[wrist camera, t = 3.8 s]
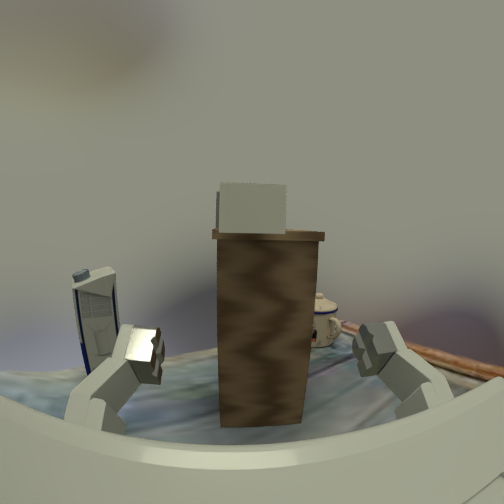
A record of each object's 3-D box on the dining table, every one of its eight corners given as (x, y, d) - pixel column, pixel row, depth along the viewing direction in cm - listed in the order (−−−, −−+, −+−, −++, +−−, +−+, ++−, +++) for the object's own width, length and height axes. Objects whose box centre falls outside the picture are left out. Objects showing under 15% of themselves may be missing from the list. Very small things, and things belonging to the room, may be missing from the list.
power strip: (201, 232, 16) (204, 150, 16) (217, 227, 42) (217, 195, 41) (301, 234, 17) (302, 155, 16) (256, 228, 42) (256, 196, 42)
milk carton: (131, 391, 37) (115, 271, 35) (93, 397, 33) (71, 274, 31) (121, 371, 43) (108, 264, 41) (88, 376, 38) (70, 266, 36)
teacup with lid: (288, 338, 63) (291, 292, 62) (316, 331, 68) (320, 287, 67) (322, 357, 53) (328, 304, 52) (350, 346, 57) (356, 298, 56)
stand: (216, 429, 31) (212, 229, 28) (218, 375, 45) (217, 227, 43) (305, 424, 32) (324, 232, 29) (284, 373, 47) (292, 229, 44)
